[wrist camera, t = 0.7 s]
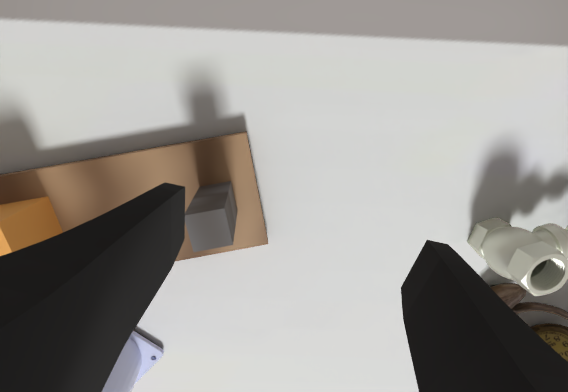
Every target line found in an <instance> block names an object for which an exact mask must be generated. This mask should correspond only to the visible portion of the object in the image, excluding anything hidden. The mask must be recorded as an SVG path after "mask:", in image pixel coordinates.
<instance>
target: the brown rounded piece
mask: <svg viewBox="0 0 568 392" xmlns="http://www.w3.org/2000/svg"><path fill="white" fill-rule="evenodd" d="M490 288H491V289H492V290H493V291H494V292H495V293H496V294H497V295H498V296H499V297H500V298H501V299H502V300H503V301H504V302H505V303H506V304H507V305H508V306H509V307H510V308H511V309H512V310H513V311H514V312H515V313H516V314H518V313H521V312H527V311H545V312H549V313H553V314H557V315H559V316H562V317H564V318H565V319H567V320H568V312H567V311H565V310H563V309H560V308H557V307H554V306H551V305H547V304H542V303H536V302H526V303H519V302H520V301H521V299H522V298H523V297H524V296H525V295H526V290H525V289H524V288H522V287H521V286H520V285H519V284H515V283H503V284H499V285H495V286H491V287H490ZM530 328H531V329H532V330H533V331H534V332H536V333H537V334H538V335H539V336H540V337H541V338H542V339H543V340H544V341H545V342H546V343H547V344H548V345H549V346H551V347H552V348H553V349H554V350H555V351H556V352H557V353H558V354H559V355H561V356H562V357H563V358H564V359H565V360H566V361H568V327H565V326H562V325H558V324H550V323H548V324H540V325H535V326H533V327H530Z"/></svg>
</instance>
